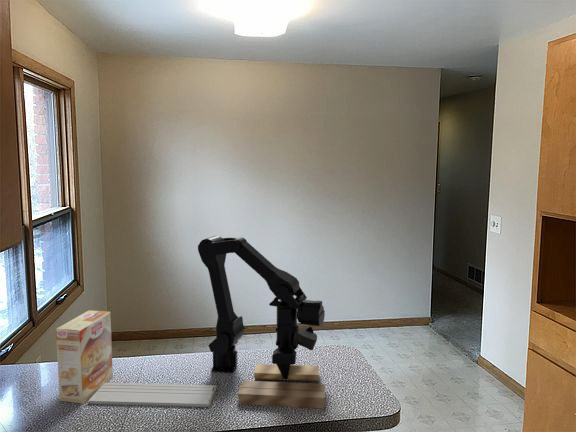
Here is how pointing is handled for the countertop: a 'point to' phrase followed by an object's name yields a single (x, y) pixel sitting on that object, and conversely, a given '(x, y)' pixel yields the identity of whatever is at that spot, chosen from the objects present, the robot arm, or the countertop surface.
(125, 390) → the baseboard molding
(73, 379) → the coffeecake box
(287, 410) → the countertop surface
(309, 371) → the plank
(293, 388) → the floor board
